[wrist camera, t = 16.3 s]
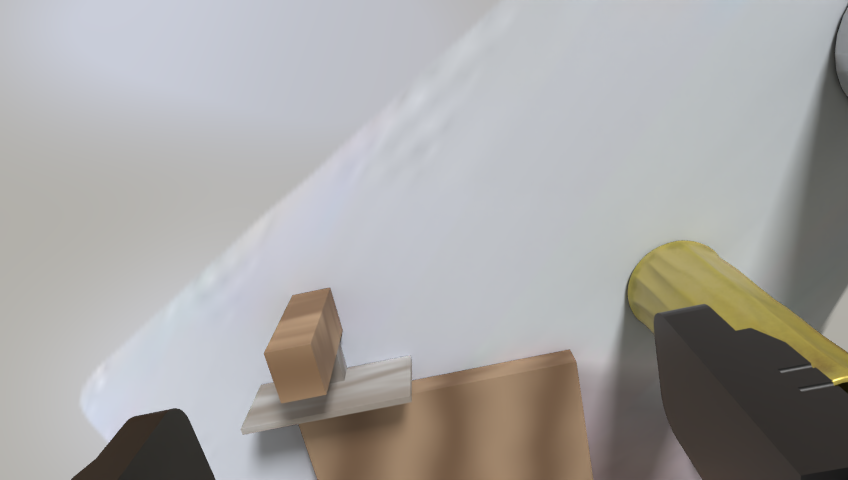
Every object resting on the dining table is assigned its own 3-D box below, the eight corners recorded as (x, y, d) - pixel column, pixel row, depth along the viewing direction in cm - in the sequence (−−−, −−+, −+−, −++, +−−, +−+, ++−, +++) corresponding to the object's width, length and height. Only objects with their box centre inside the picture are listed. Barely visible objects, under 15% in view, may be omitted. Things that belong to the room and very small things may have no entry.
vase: (696, 340, 36) (868, 514, 22) (609, 314, 35) (733, 478, 22) (741, 256, 34) (959, 389, 21) (651, 226, 33) (815, 345, 20)
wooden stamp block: (233, 307, 34) (190, 368, 28) (390, 275, 34) (385, 329, 27) (262, 390, 36) (229, 465, 30) (411, 360, 36) (411, 430, 29)
